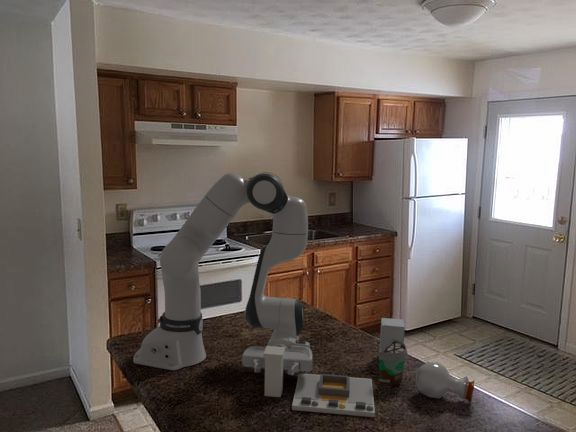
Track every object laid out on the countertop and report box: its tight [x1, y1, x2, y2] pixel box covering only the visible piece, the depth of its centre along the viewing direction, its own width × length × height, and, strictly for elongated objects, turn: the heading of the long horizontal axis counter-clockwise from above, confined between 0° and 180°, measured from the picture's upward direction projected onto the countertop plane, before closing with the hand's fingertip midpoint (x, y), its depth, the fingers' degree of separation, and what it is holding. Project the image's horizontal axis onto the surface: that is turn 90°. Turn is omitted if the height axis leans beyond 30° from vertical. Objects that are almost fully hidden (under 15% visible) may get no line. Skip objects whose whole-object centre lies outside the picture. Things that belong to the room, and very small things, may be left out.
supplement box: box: [378, 317, 406, 355], centre depth 150 cm, size 7×7×13 cm
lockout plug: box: [263, 345, 285, 398], centre depth 128 cm, size 5×5×12 cm
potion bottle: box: [415, 361, 475, 404], centre depth 127 cm, size 9×10×15 cm
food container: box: [378, 339, 408, 386], centre depth 137 cm, size 12×6×10 cm, turn 148°
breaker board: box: [291, 372, 376, 418], centre depth 127 cm, size 21×18×3 cm
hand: (273, 371), depth 127 cm, fingers open, 8 cm apart
